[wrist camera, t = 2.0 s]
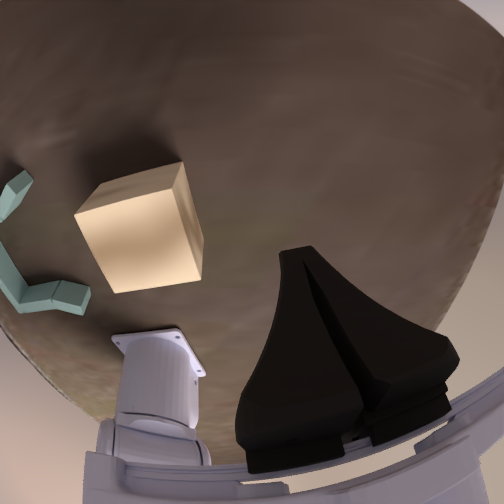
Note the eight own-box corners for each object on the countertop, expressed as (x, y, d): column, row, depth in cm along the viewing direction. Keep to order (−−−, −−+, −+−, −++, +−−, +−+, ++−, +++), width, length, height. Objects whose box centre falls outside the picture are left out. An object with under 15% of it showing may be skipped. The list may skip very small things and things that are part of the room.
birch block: (203, 238, 20) (201, 279, 16) (130, 252, 20) (114, 293, 16) (182, 160, 16) (171, 188, 13) (101, 183, 16) (74, 215, 13)
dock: (95, 294, 22) (87, 315, 20) (34, 304, 22) (26, 321, 20) (29, 167, 14) (10, 181, 12) (-26, 203, 14) (-41, 217, 12)
